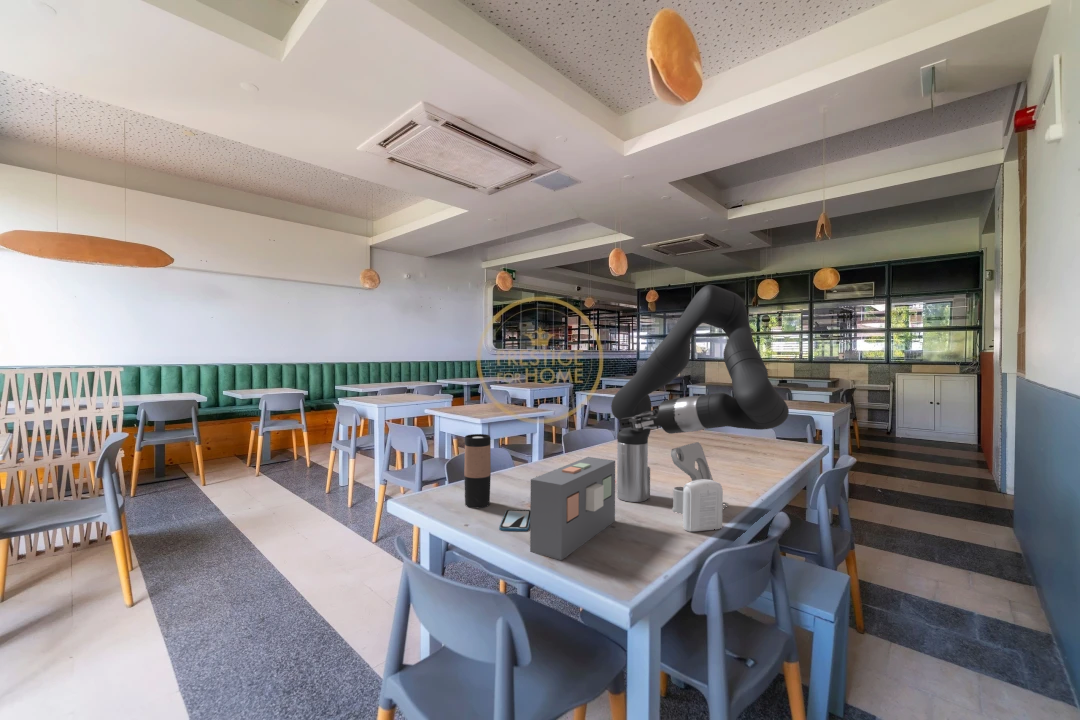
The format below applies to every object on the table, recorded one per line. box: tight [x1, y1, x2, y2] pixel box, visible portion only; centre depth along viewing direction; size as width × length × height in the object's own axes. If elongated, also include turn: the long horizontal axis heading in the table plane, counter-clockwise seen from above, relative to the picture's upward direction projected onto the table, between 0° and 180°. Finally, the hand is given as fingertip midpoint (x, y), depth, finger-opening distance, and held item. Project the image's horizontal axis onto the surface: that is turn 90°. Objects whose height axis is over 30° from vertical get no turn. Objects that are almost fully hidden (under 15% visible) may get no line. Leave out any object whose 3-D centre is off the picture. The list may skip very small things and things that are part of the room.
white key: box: [586, 483, 604, 511], centre depth 107 cm, size 4×5×5 cm
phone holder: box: [670, 441, 729, 515], centre depth 129 cm, size 17×10×18 cm, turn 135°
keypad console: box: [529, 456, 616, 561], centre depth 109 cm, size 8×28×16 cm, turn 147°
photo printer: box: [682, 479, 724, 533], centre depth 114 cm, size 10×4×12 cm, turn 106°
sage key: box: [602, 476, 611, 499], centre depth 115 cm, size 4×5×5 cm
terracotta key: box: [567, 492, 579, 522], centre depth 100 cm, size 4×5×5 cm
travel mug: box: [463, 433, 492, 508], centre depth 131 cm, size 8×8×20 cm
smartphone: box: [498, 508, 530, 532], centre depth 119 cm, size 7×1×15 cm
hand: (621, 423), depth 110 cm, fingers closed
